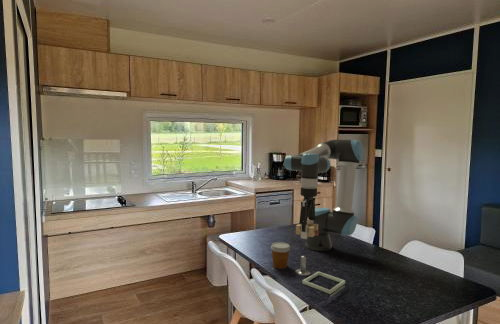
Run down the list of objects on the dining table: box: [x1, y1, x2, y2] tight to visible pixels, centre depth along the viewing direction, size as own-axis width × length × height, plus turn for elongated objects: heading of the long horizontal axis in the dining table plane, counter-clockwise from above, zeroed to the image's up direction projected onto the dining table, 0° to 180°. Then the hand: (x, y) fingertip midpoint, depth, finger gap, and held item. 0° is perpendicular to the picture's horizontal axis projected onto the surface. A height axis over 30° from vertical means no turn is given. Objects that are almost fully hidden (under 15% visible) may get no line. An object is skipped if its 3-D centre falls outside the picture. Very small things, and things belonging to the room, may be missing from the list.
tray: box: [301, 271, 346, 298], centre depth 139 cm, size 13×13×3 cm
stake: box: [294, 255, 311, 276], centre depth 150 cm, size 7×7×9 cm
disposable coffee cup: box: [270, 241, 291, 270], centre depth 156 cm, size 10×10×12 cm
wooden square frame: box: [295, 223, 319, 237], centre depth 146 cm, size 8×9×4 cm
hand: (306, 235), depth 147 cm, fingers closed on wooden square frame, 8 cm apart
